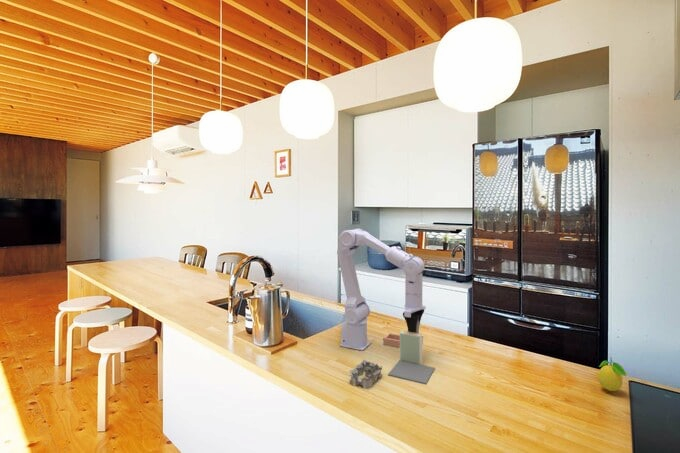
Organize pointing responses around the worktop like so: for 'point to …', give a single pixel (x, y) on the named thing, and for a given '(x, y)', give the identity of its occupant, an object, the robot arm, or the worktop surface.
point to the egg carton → (370, 373)
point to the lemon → (611, 376)
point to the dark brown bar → (418, 330)
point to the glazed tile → (411, 347)
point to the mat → (412, 372)
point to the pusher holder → (392, 340)
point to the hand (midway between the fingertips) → (413, 331)
